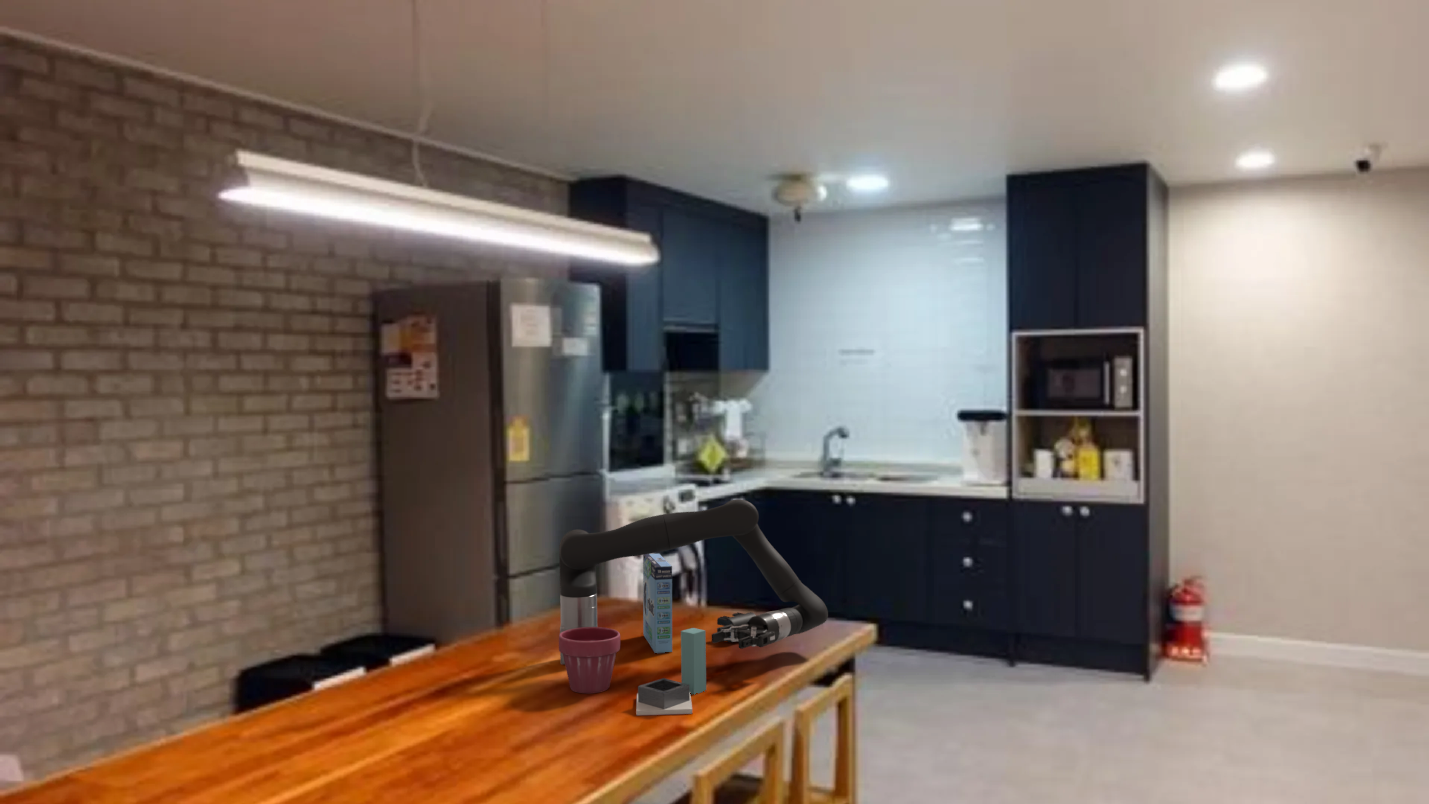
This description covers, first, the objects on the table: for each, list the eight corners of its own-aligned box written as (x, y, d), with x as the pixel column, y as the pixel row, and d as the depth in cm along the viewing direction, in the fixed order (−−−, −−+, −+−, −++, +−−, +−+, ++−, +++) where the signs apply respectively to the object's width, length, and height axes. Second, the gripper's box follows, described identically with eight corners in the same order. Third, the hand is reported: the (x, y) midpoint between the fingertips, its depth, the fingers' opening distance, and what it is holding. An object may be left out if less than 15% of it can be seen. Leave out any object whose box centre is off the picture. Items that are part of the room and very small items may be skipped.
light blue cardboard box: (643, 635, 297) (642, 554, 296) (661, 634, 298) (660, 553, 298) (654, 654, 278) (653, 566, 277) (673, 652, 279) (672, 565, 279)
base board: (636, 715, 229) (636, 710, 229) (637, 698, 241) (637, 693, 241) (692, 713, 230) (692, 709, 230) (690, 696, 242) (690, 692, 242)
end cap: (735, 645, 286) (734, 620, 286) (716, 640, 292) (715, 615, 291) (760, 638, 294) (759, 613, 293) (741, 633, 299) (741, 609, 298)
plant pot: (631, 683, 253) (631, 629, 252) (601, 700, 240) (600, 643, 240) (580, 676, 259) (579, 623, 258) (547, 692, 246) (546, 637, 246)
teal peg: (694, 694, 243) (693, 633, 243) (681, 691, 246) (680, 631, 245) (706, 690, 246) (705, 630, 246) (693, 687, 249) (692, 627, 248)
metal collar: (664, 709, 230) (664, 693, 230) (638, 702, 235) (638, 686, 235) (689, 700, 236) (689, 684, 236) (663, 693, 241) (663, 678, 241)
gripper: (746, 609, 271) (703, 621, 258) (791, 616, 261) (748, 630, 249) (747, 638, 271) (704, 652, 259) (791, 647, 261) (749, 662, 249)
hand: (726, 641), depth 254 cm, fingers open, 8 cm apart
